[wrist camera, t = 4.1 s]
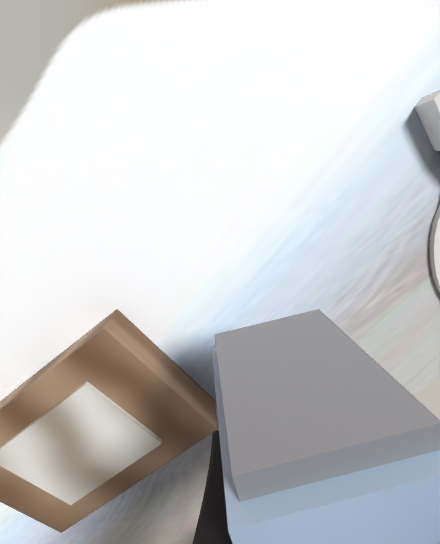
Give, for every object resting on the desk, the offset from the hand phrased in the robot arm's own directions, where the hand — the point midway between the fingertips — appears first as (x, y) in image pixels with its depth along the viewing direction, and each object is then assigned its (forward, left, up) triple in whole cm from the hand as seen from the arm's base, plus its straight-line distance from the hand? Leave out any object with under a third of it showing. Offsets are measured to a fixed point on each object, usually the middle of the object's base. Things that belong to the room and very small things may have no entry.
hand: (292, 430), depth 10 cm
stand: (-8, +12, -8) cm, 17 cm away
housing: (0, 0, -2) cm, 2 cm away
